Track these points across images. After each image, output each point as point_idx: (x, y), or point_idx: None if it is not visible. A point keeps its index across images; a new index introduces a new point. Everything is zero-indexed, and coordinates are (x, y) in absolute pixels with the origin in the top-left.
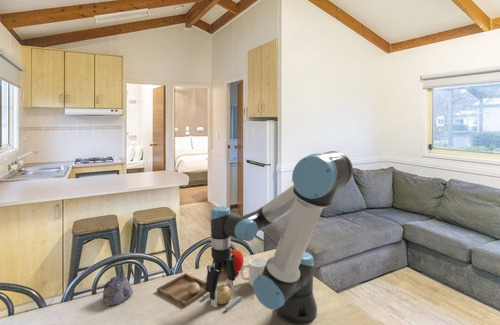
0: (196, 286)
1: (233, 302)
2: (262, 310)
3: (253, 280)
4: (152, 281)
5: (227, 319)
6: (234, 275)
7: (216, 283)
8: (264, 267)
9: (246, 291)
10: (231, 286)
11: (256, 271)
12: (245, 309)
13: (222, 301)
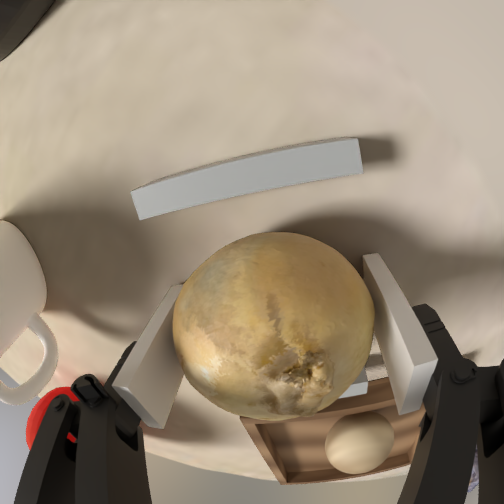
0: (365, 452)
1: (250, 164)
2: (108, 10)
3: (5, 280)
4: (369, 478)
5: (399, 74)
6: (69, 412)
7: (446, 468)
8: None
9: (76, 258)
10: (149, 344)
11: None
12: (190, 69)
13: (336, 252)
